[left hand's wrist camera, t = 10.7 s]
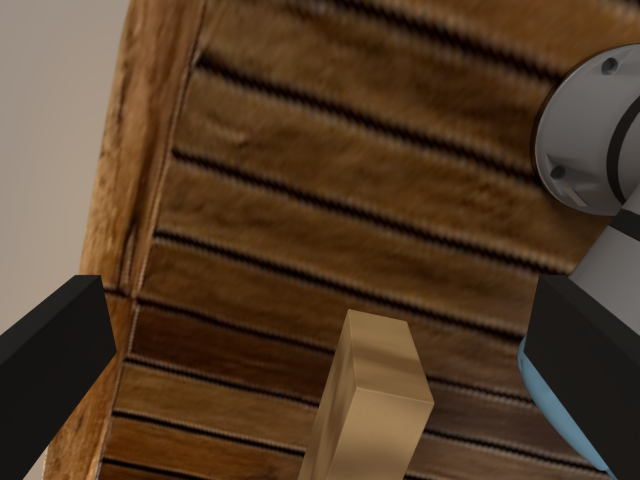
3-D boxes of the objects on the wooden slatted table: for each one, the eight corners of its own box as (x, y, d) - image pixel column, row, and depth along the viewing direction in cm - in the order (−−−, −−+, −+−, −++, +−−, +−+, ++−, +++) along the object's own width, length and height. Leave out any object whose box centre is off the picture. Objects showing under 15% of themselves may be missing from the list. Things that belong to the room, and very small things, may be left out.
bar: (348, 308, 31) (356, 387, 23) (406, 321, 31) (435, 403, 23) (285, 518, 39) (276, 631, 31) (333, 526, 39) (335, 640, 31)
